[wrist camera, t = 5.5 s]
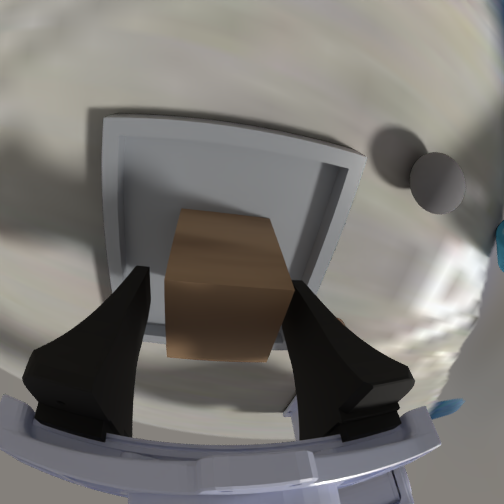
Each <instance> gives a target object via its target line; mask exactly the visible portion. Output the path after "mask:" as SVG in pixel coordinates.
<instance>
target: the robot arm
mask: <svg viewBox="0 0 504 504" xmlns="http://www.w3.org/2000/svg"><path fill="white" fill-rule="evenodd" d="M292 283H293V286H294V289H295V291H294V294H293V296H292V299H291V302H290V304H289V307H288V310H287V312H286V315H285V317H284V320H283V322H282V330H283V334H284V338H285V342H286V346H287V349H288V353H289V357H290V360H291V364H292V368H293V373H294V380H295V387H296V396H295V397H294V399H293V400H292V402H291V403H290V404H289V406H288V407H287V409H286V410H285V411H284V413H283V416H284V417H291V419H292V424H293V429H294V434H295V439H296V441H293V442H282V443H271V444H255V445H194V444H180V443H169V442H159V441H151V440H144V439H137V438H132V416H133V397H134V385H135V375H136V367H137V361H138V356H139V352H140V348H141V344H142V340H143V337H144V333H145V329H146V325H147V321H148V317H149V311H150V304H151V288H150V267H147V266H138V265H137V266H136V267H134V269H133V270H132V271H131V272H130V274H129V275H128V276H127V277H126V278H125V280H124V281H123V282H122V283H121V284H120V285H119V287H118V288H117V289H116V290H115V291H114V292H113V293H112V294H111V295H110V296H109V297H108V298H107V299H106V300H105V301H104V302H103V304H102V305H101V306H99V307H98V308H97V309H96V310H95V311H94V312H93V313H92V314H91V315H89V316H88V317H87V318H86V319H85V320H83V321H82V322H81V323H80V324H78V325H77V326H75V327H74V328H73V329H71V330H70V331H68V332H67V333H65V334H64V335H62V336H60V337H59V338H57V339H55V340H54V341H52V342H50V343H48V344H46V345H44V346H42V347H40V348H38V349H36V350H34V351H33V352H32V354H31V356H30V358H29V361H28V364H27V366H26V369H25V372H24V374H23V377H22V379H23V383H24V385H25V386H26V388H27V389H28V390H29V391H30V393H31V394H32V395H33V396H34V397H35V399H36V400H37V401H38V406H37V410H36V412H34V410H33V409H32V408H31V407H30V406H29V405H28V404H26V403H25V402H23V401H21V400H18V399H16V398H13V397H11V396H9V395H7V394H3V396H2V399H1V402H0V450H2V451H4V452H5V453H7V454H8V455H10V456H12V457H13V458H15V459H16V460H18V461H20V462H22V463H24V464H26V465H29V466H31V467H33V468H35V469H38V470H40V471H42V472H45V473H47V474H50V475H52V476H55V477H58V478H60V479H63V480H66V481H68V482H72V483H74V484H77V485H80V486H84V487H87V488H90V489H94V490H97V491H101V492H105V493H109V494H113V495H117V496H122V497H127V498H128V504H414V501H413V497H412V494H411V492H412V489H411V485H410V482H409V479H408V475H407V472H406V470H405V466H404V465H406V464H409V463H411V462H413V461H415V460H416V459H418V458H420V457H422V456H423V455H425V454H427V453H429V452H431V451H432V450H434V449H436V448H437V447H439V446H440V445H441V441H440V439H439V436H438V434H437V432H436V429H435V427H434V424H433V422H432V420H431V417H430V415H429V413H428V410H427V408H426V406H422V407H419V408H416V409H413V410H411V411H408V412H406V413H405V414H403V415H402V416H401V417H400V418H399V415H398V413H397V410H399V408H400V407H399V404H398V401H400V400H401V399H402V398H403V397H404V396H405V395H406V394H407V393H408V392H409V391H410V390H411V389H412V387H413V386H414V383H415V380H414V378H413V376H412V374H411V372H410V370H409V368H408V366H406V365H404V364H402V363H399V362H397V361H395V360H393V359H391V358H389V357H388V356H386V355H384V354H382V353H381V352H379V351H377V350H376V349H374V348H373V347H371V346H370V345H368V344H367V343H366V342H364V341H363V340H361V339H360V338H359V337H357V336H356V335H355V334H354V333H353V332H351V331H350V330H349V329H348V328H347V327H346V326H345V325H343V324H342V323H341V322H340V321H339V320H338V319H337V318H336V317H335V316H334V315H333V314H332V313H331V312H330V311H329V310H328V308H327V307H326V306H325V305H324V304H323V303H322V302H321V301H320V300H319V298H318V297H317V296H316V295H315V294H314V293H313V292H312V291H311V289H310V288H309V287H308V286H307V285H306V284H305V283H304V282H303V281H302V280H292ZM399 491H400V492H399Z"/></svg>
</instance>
